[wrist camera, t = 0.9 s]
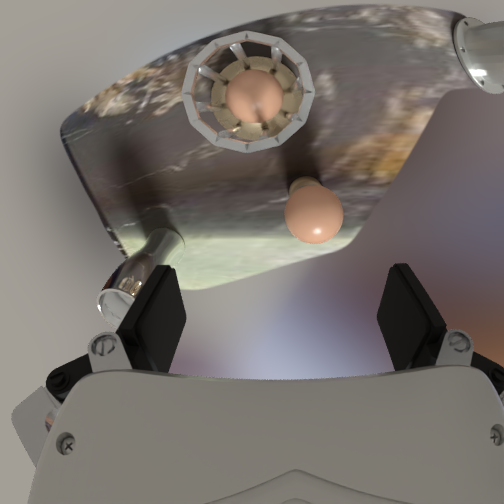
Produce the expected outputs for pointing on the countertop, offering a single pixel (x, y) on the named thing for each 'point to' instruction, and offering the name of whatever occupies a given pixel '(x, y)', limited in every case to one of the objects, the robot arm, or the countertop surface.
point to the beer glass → (138, 273)
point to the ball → (254, 96)
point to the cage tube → (265, 132)
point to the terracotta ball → (313, 214)
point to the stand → (302, 183)
